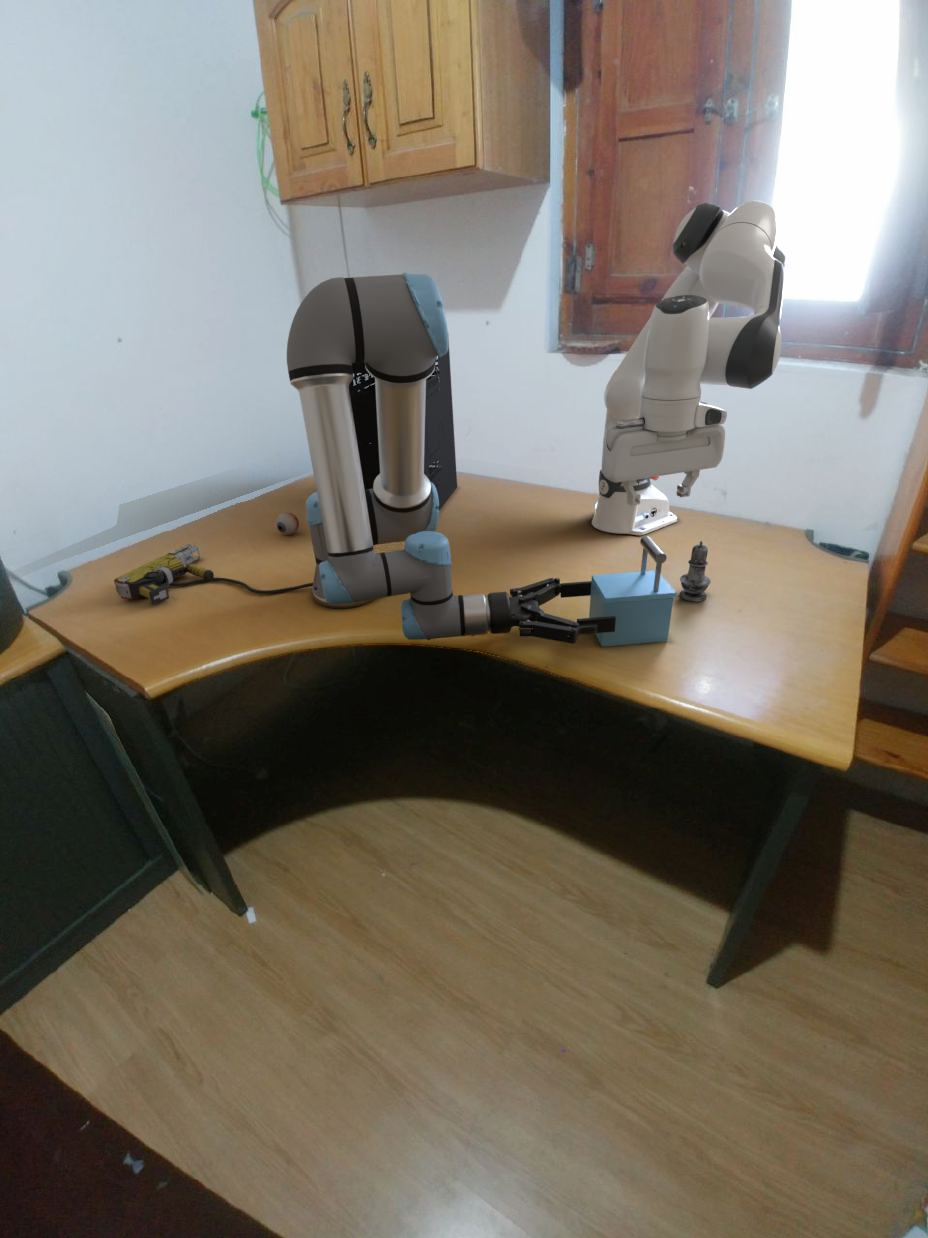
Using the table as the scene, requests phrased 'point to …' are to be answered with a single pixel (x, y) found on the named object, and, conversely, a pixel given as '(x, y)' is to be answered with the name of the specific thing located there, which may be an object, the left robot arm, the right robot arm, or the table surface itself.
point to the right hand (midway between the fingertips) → (658, 500)
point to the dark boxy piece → (436, 428)
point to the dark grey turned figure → (696, 576)
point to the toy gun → (160, 575)
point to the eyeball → (287, 523)
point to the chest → (632, 619)
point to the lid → (636, 580)
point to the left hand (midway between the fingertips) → (604, 604)
